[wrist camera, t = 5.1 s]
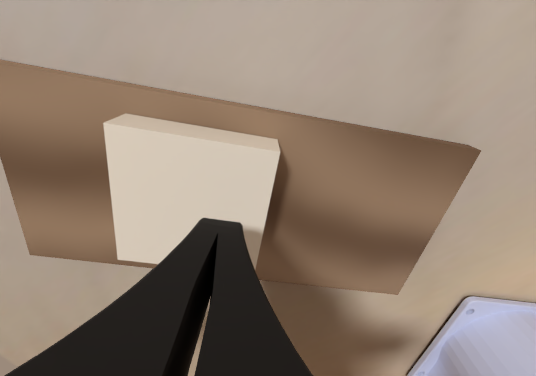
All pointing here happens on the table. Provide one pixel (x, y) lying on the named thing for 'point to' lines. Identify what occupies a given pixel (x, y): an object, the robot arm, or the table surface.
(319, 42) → the table surface
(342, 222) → the board
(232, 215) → the tile
